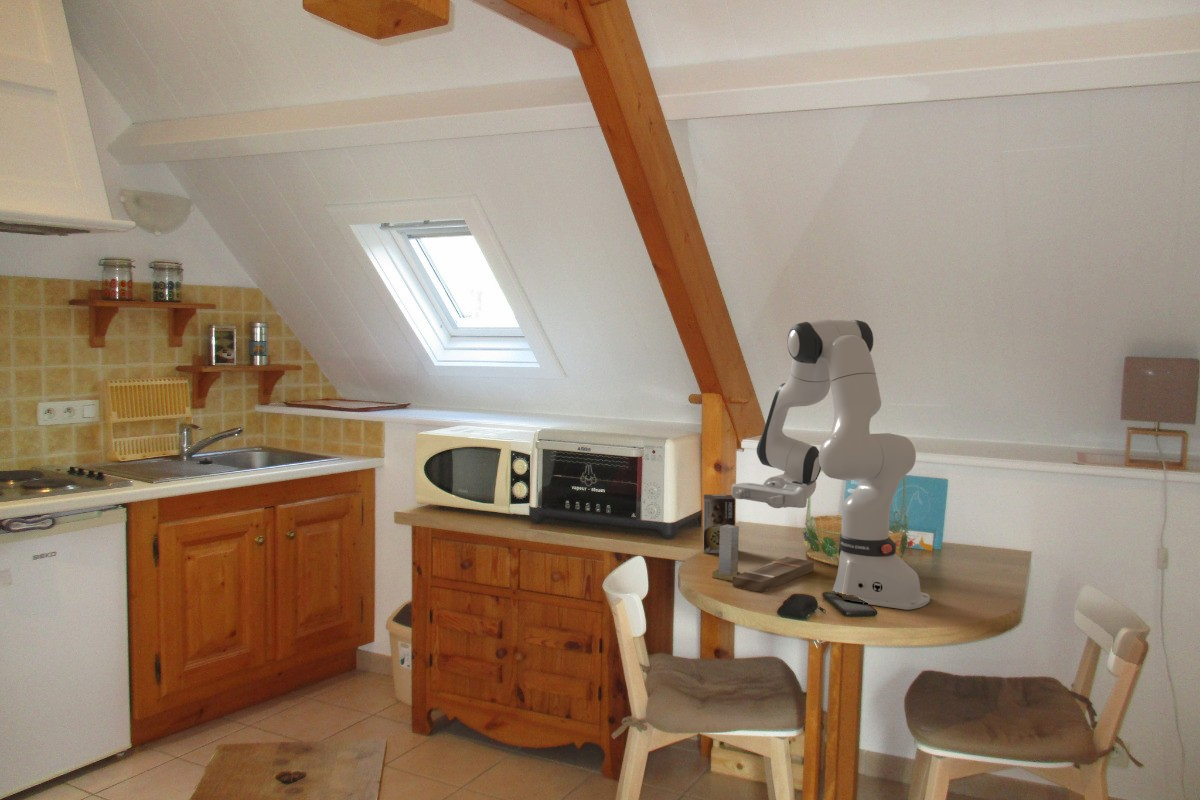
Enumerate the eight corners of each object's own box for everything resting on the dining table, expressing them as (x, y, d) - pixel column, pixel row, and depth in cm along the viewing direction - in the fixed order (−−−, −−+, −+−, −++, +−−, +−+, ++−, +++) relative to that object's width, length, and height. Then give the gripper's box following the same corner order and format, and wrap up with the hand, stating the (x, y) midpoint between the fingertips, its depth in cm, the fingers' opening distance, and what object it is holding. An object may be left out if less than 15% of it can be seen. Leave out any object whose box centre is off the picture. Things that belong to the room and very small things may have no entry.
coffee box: (733, 549, 272) (735, 494, 271) (734, 554, 266) (736, 498, 264) (702, 548, 273) (703, 493, 272) (702, 553, 266) (703, 497, 265)
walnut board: (813, 570, 248) (813, 561, 248) (761, 592, 226) (761, 581, 226) (786, 565, 253) (786, 556, 253) (732, 586, 232) (732, 575, 231)
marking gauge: (743, 579, 239) (745, 527, 238) (735, 582, 236) (737, 529, 235) (720, 574, 243) (721, 523, 242) (712, 577, 240) (713, 525, 239)
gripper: (746, 475, 264) (720, 481, 254) (812, 485, 252) (788, 491, 241) (745, 497, 265) (719, 504, 254) (811, 508, 252) (787, 515, 241)
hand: (753, 498), depth 248 cm, fingers open, 8 cm apart
